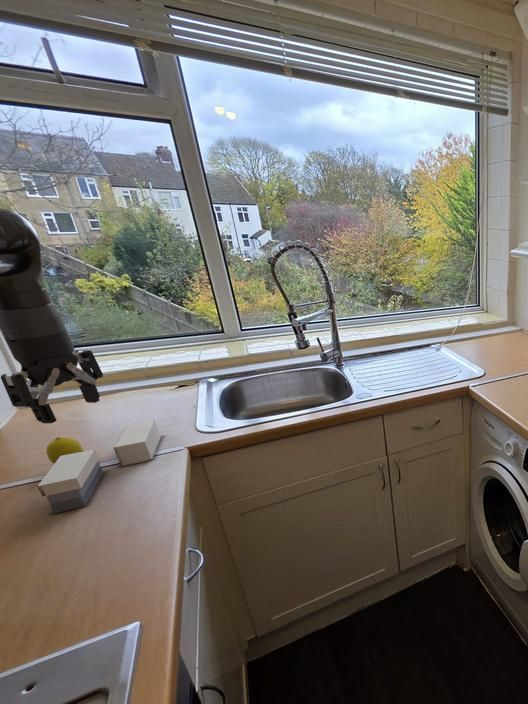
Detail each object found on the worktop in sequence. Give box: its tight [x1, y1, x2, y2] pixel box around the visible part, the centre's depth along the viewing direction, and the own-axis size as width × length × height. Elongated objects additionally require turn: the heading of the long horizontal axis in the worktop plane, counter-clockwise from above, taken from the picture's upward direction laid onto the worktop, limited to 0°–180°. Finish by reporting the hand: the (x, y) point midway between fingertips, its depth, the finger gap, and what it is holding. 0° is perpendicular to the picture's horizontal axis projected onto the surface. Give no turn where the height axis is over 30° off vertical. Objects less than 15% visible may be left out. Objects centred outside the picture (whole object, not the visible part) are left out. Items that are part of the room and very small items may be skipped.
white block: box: [113, 419, 162, 467], centre depth 101 cm, size 6×12×5 cm, turn 30°
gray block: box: [46, 460, 104, 514], centre depth 87 cm, size 5×13×4 cm, turn 30°
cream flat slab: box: [36, 449, 100, 498], centre depth 85 cm, size 6×12×3 cm, turn 30°
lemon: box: [46, 436, 84, 465], centre depth 94 cm, size 6×6×8 cm
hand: (72, 411), depth 78 cm, fingers open, 8 cm apart
